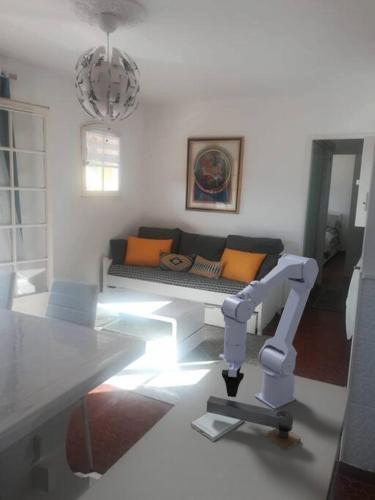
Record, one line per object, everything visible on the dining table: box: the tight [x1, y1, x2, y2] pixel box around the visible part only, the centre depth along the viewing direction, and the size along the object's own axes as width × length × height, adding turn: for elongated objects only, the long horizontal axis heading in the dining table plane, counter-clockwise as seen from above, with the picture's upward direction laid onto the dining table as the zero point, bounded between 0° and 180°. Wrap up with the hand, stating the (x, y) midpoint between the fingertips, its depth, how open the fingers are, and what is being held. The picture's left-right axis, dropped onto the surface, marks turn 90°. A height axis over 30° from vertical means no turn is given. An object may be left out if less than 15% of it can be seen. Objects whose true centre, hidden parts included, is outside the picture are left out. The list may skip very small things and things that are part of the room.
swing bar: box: [206, 395, 294, 432], centre depth 99 cm, size 22×4×3 cm, turn 71°
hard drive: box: [190, 412, 245, 442], centre depth 102 cm, size 2×8×12 cm
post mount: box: [265, 428, 302, 451], centre depth 97 cm, size 6×6×3 cm
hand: (232, 388), depth 104 cm, fingers open, 7 cm apart
